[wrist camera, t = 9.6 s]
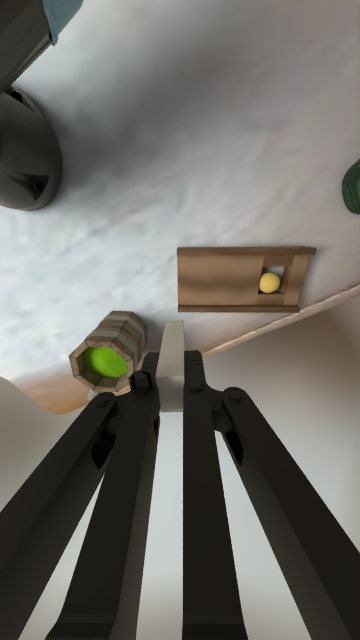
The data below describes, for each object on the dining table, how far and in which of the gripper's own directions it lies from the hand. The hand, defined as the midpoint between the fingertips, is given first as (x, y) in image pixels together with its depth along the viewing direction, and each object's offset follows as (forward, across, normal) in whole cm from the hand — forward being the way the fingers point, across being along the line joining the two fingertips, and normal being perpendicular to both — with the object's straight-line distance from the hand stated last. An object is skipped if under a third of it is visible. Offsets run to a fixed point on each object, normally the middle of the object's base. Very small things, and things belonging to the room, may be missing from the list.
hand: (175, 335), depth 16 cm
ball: (+20, +16, -2) cm, 26 cm away
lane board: (+22, +11, -1) cm, 24 cm away
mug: (+22, -14, -14) cm, 29 cm away
